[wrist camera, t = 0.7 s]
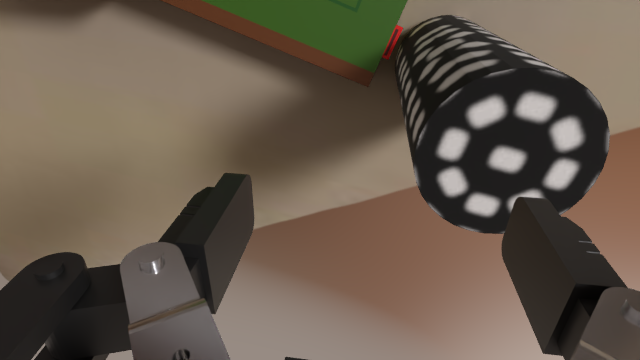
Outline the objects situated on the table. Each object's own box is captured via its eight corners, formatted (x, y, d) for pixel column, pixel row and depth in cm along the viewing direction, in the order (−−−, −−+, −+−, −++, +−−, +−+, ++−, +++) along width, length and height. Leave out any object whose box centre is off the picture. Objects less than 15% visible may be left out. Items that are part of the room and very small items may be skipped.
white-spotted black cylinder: (383, 95, 37) (390, 208, 20) (413, 3, 33) (456, 43, 16) (466, 118, 37) (546, 251, 20) (507, 29, 33) (654, 98, 16)
